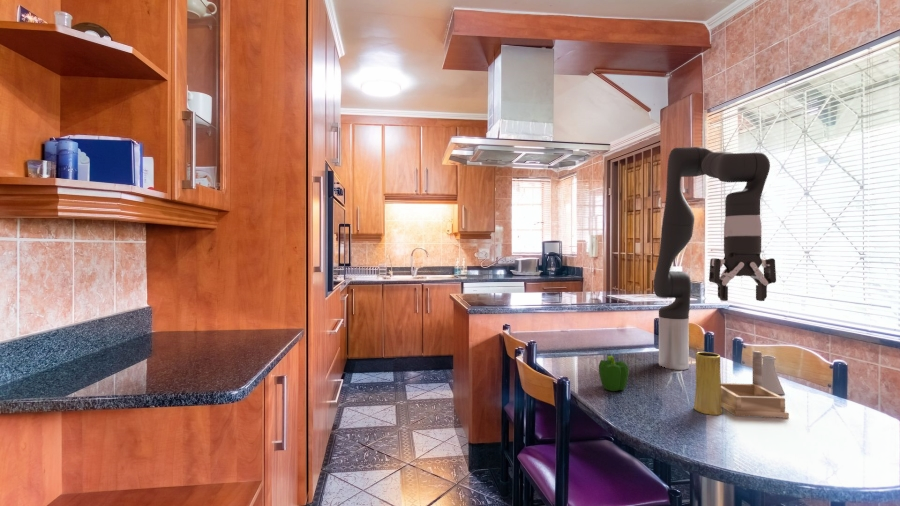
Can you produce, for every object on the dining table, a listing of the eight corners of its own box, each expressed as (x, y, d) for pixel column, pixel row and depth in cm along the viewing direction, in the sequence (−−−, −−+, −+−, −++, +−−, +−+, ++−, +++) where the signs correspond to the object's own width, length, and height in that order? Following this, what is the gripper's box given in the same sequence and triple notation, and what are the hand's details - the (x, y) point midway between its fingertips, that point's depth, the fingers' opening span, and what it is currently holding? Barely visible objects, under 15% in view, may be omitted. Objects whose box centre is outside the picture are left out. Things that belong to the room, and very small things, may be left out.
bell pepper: (615, 383, 126) (615, 350, 126) (634, 391, 118) (634, 357, 118) (591, 386, 124) (591, 352, 124) (610, 395, 116) (610, 359, 116)
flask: (790, 396, 115) (790, 360, 115) (761, 394, 116) (761, 359, 116) (775, 388, 122) (775, 354, 122) (748, 386, 123) (748, 353, 123)
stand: (708, 398, 113) (709, 350, 113) (758, 399, 112) (758, 351, 112) (735, 416, 101) (736, 362, 101) (792, 418, 100) (792, 363, 100)
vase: (697, 404, 109) (697, 350, 109) (725, 410, 104) (725, 354, 104) (690, 410, 104) (690, 354, 104) (718, 417, 100) (718, 358, 100)
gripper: (762, 234, 104) (762, 298, 105) (703, 235, 106) (703, 298, 106) (784, 234, 97) (783, 302, 97) (720, 234, 98) (720, 302, 98)
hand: (741, 300), depth 102 cm, fingers open, 8 cm apart
